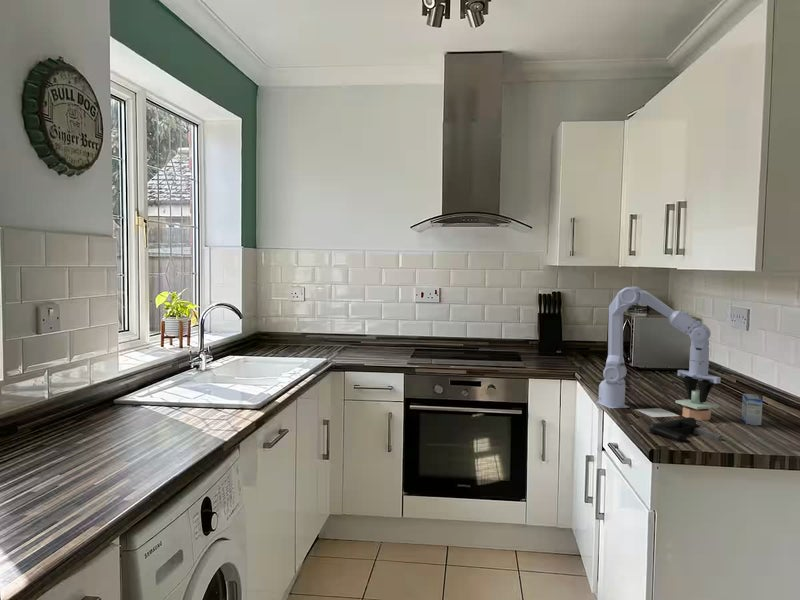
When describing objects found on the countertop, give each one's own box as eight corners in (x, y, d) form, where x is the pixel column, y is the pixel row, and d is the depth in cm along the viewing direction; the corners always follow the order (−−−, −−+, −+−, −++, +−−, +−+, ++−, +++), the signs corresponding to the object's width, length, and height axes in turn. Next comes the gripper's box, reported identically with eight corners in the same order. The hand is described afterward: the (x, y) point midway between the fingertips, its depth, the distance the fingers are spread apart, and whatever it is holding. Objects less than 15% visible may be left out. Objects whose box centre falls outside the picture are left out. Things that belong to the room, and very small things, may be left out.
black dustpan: (734, 430, 172) (685, 414, 186) (692, 439, 162) (644, 422, 176) (733, 441, 172) (684, 424, 186) (690, 450, 163) (643, 432, 177)
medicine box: (741, 418, 193) (742, 393, 193) (756, 420, 192) (757, 394, 191) (745, 424, 186) (747, 398, 186) (761, 426, 184) (763, 399, 184)
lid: (675, 402, 196) (676, 388, 195) (696, 401, 198) (697, 387, 198) (697, 409, 187) (697, 394, 186) (718, 407, 190) (719, 393, 189)
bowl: (677, 415, 196) (678, 405, 196) (698, 414, 198) (698, 404, 197) (694, 422, 188) (694, 411, 188) (715, 421, 190) (716, 410, 189)
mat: (634, 410, 202) (634, 409, 202) (660, 409, 204) (660, 408, 204) (652, 418, 192) (652, 417, 192) (680, 417, 194) (680, 415, 194)
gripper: (672, 358, 196) (670, 397, 197) (711, 365, 183) (709, 406, 184) (685, 356, 199) (684, 395, 200) (725, 363, 186) (723, 404, 187)
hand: (697, 400), depth 192 cm, fingers closed on lid, 3 cm apart
